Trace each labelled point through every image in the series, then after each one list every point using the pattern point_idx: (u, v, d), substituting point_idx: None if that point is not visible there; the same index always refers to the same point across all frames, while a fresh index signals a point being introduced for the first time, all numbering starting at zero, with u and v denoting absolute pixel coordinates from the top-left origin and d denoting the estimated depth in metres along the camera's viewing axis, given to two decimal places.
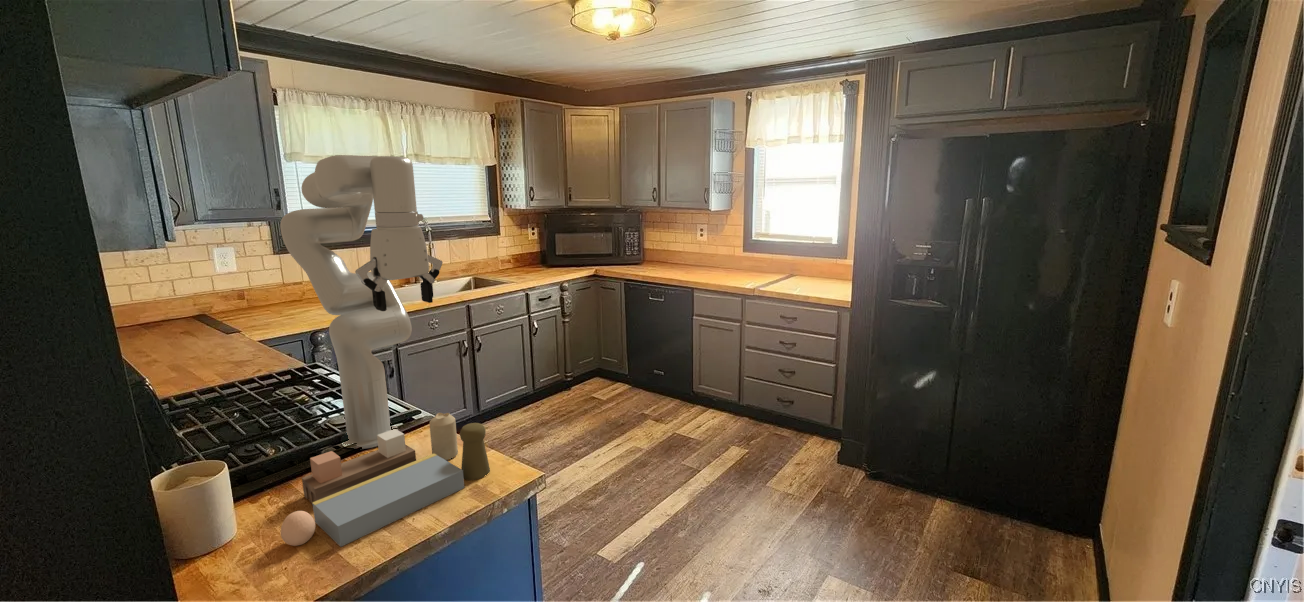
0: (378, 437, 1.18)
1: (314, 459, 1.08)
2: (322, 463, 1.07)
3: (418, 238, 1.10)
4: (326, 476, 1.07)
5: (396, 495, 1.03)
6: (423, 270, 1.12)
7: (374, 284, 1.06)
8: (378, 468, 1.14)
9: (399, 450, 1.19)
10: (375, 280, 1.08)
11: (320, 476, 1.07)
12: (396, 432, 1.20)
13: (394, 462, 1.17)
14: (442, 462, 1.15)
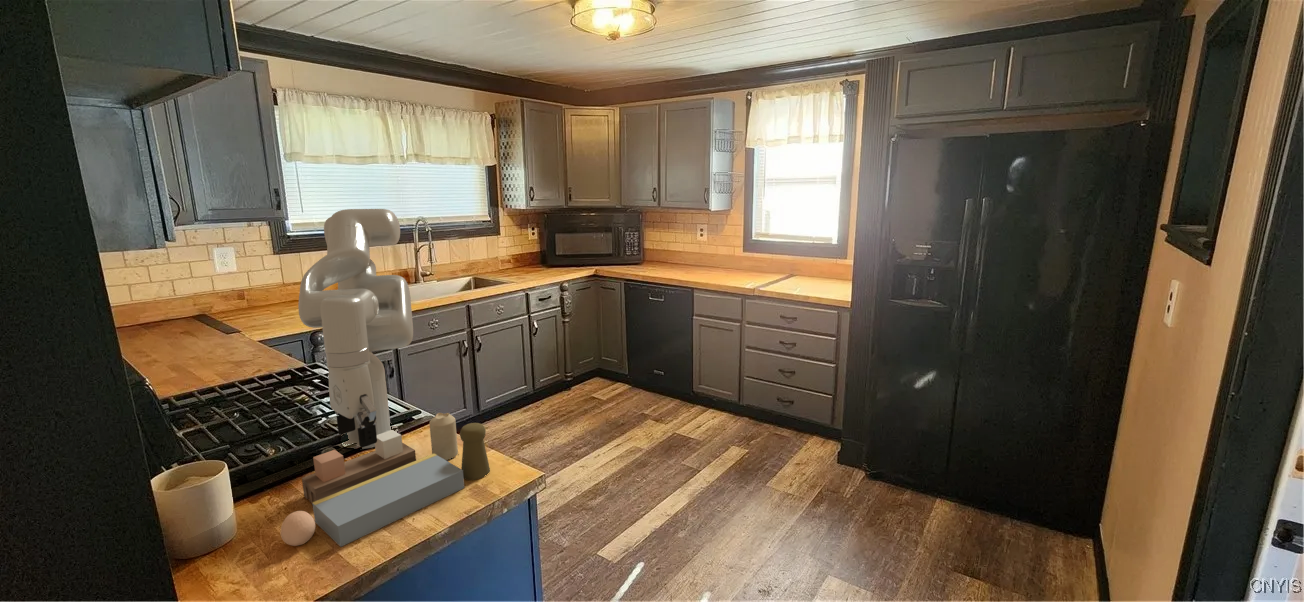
0: None
1: (317, 458, 1.08)
2: (325, 462, 1.07)
3: None
4: (329, 475, 1.08)
5: (396, 495, 1.03)
6: None
7: None
8: (378, 468, 1.14)
9: (396, 451, 1.18)
10: None
11: (323, 475, 1.07)
12: (393, 433, 1.19)
13: (394, 462, 1.17)
14: (442, 462, 1.15)
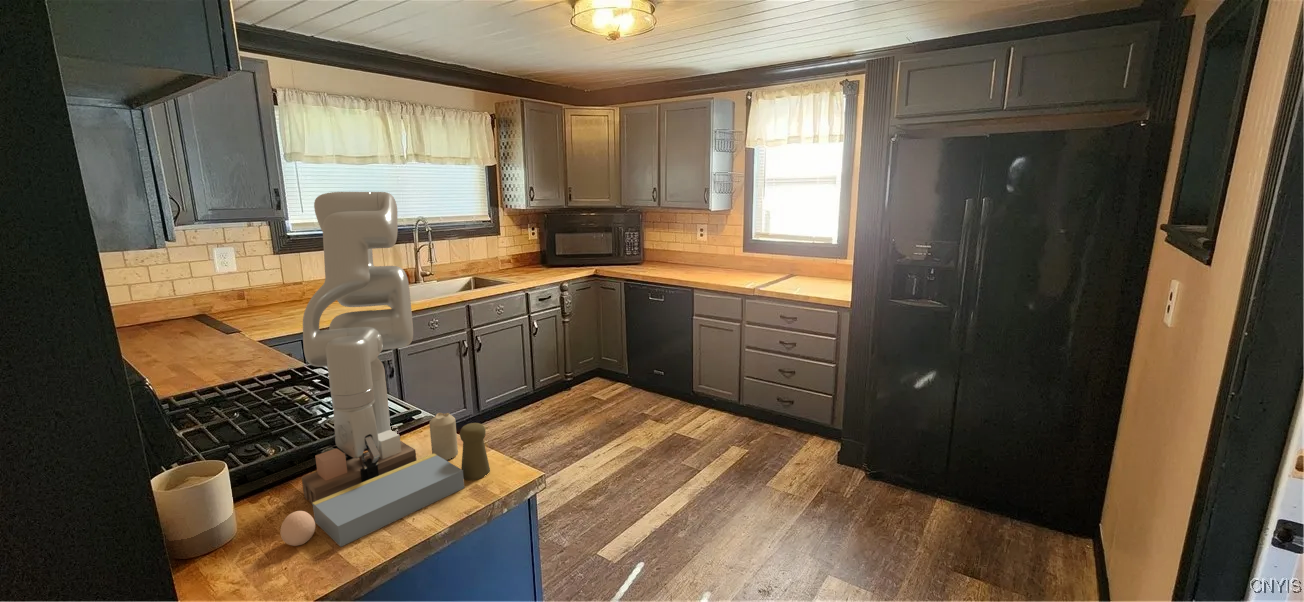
0: None
1: (319, 457, 1.08)
2: (327, 461, 1.07)
3: None
4: (331, 473, 1.08)
5: (396, 495, 1.03)
6: None
7: None
8: (378, 467, 1.14)
9: (394, 451, 1.18)
10: None
11: (325, 473, 1.07)
12: (391, 433, 1.19)
13: (394, 461, 1.16)
14: (442, 462, 1.15)
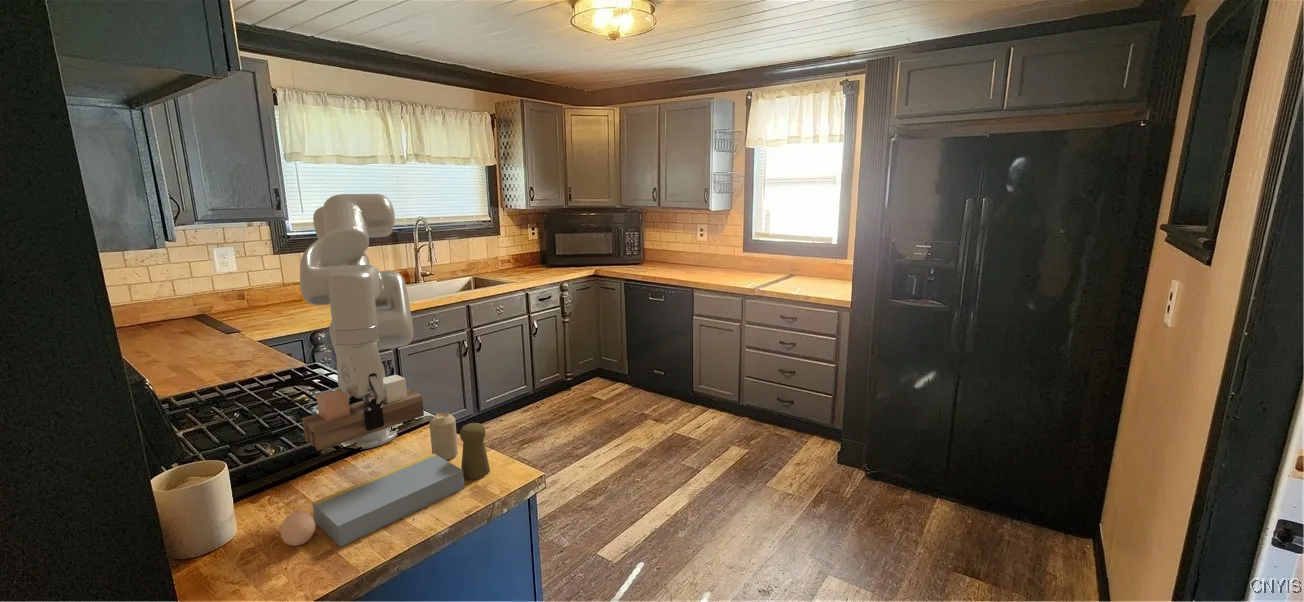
0: None
1: (320, 396, 1.02)
2: (329, 399, 1.01)
3: None
4: (333, 413, 1.02)
5: (396, 495, 1.03)
6: None
7: None
8: (383, 411, 1.08)
9: (400, 396, 1.11)
10: None
11: (327, 413, 1.01)
12: (397, 377, 1.12)
13: (399, 406, 1.10)
14: (442, 462, 1.15)
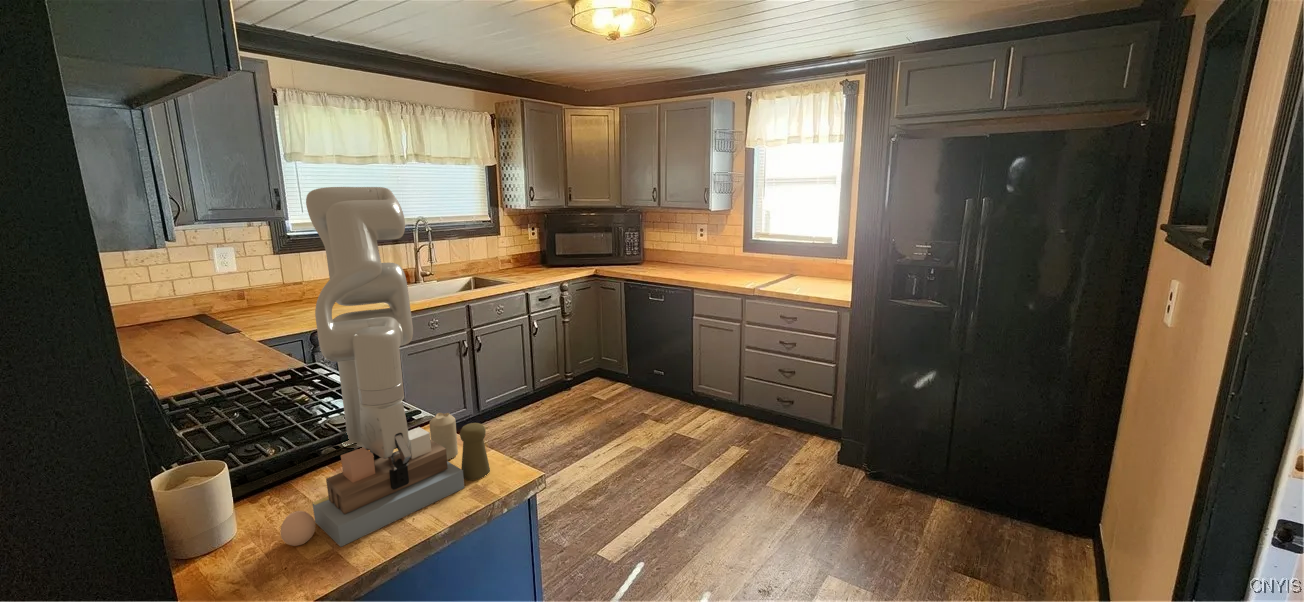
0: None
1: (345, 457, 1.00)
2: (355, 461, 0.99)
3: None
4: (359, 475, 0.99)
5: (396, 495, 1.03)
6: None
7: None
8: (408, 468, 1.05)
9: (424, 450, 1.09)
10: None
11: (352, 475, 0.99)
12: (421, 430, 1.10)
13: (424, 461, 1.08)
14: None
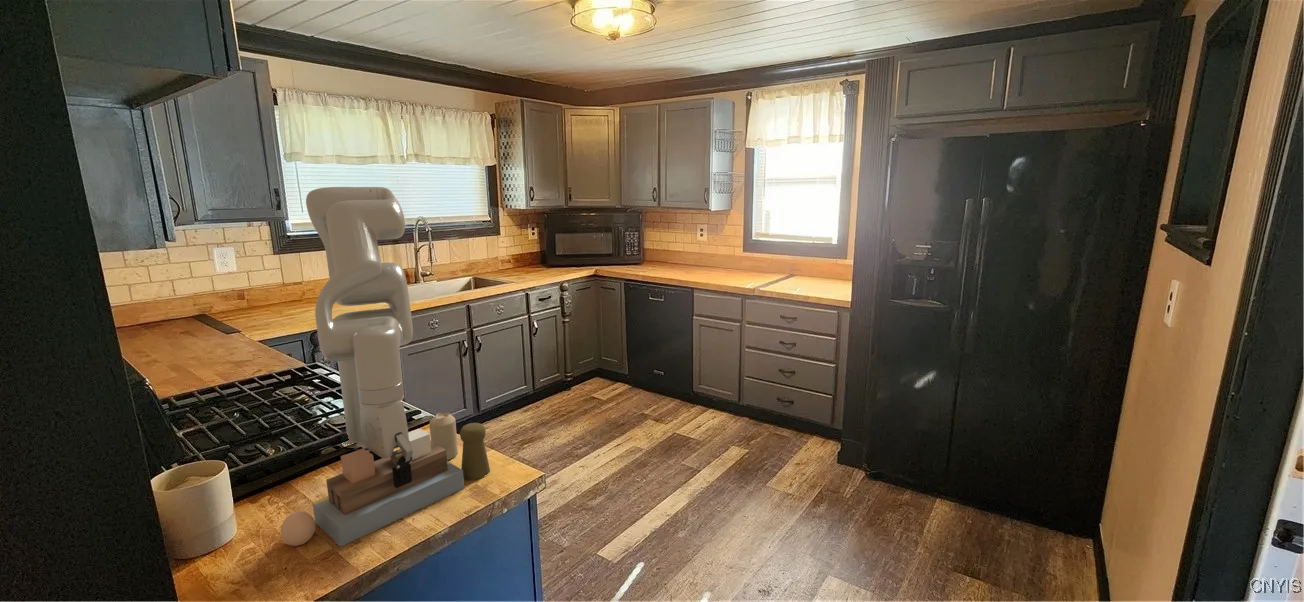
0: None
1: (345, 458, 1.00)
2: (355, 462, 0.99)
3: None
4: (359, 475, 1.00)
5: (396, 495, 1.03)
6: None
7: None
8: None
9: (424, 452, 1.09)
10: None
11: (352, 476, 0.99)
12: (420, 432, 1.10)
13: (424, 462, 1.08)
14: None
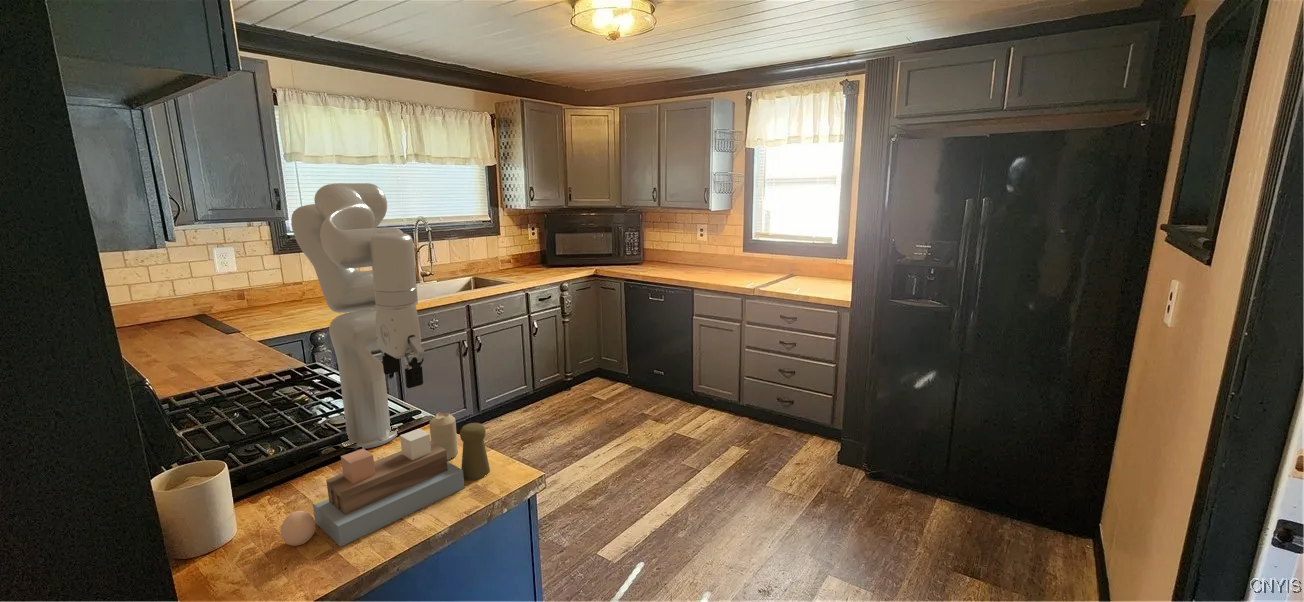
0: (402, 437, 1.08)
1: (345, 458, 1.00)
2: (355, 462, 0.99)
3: None
4: (359, 475, 1.00)
5: (396, 495, 1.03)
6: None
7: None
8: (408, 469, 1.05)
9: (424, 452, 1.09)
10: None
11: (352, 476, 0.99)
12: (420, 432, 1.10)
13: (424, 462, 1.08)
14: None
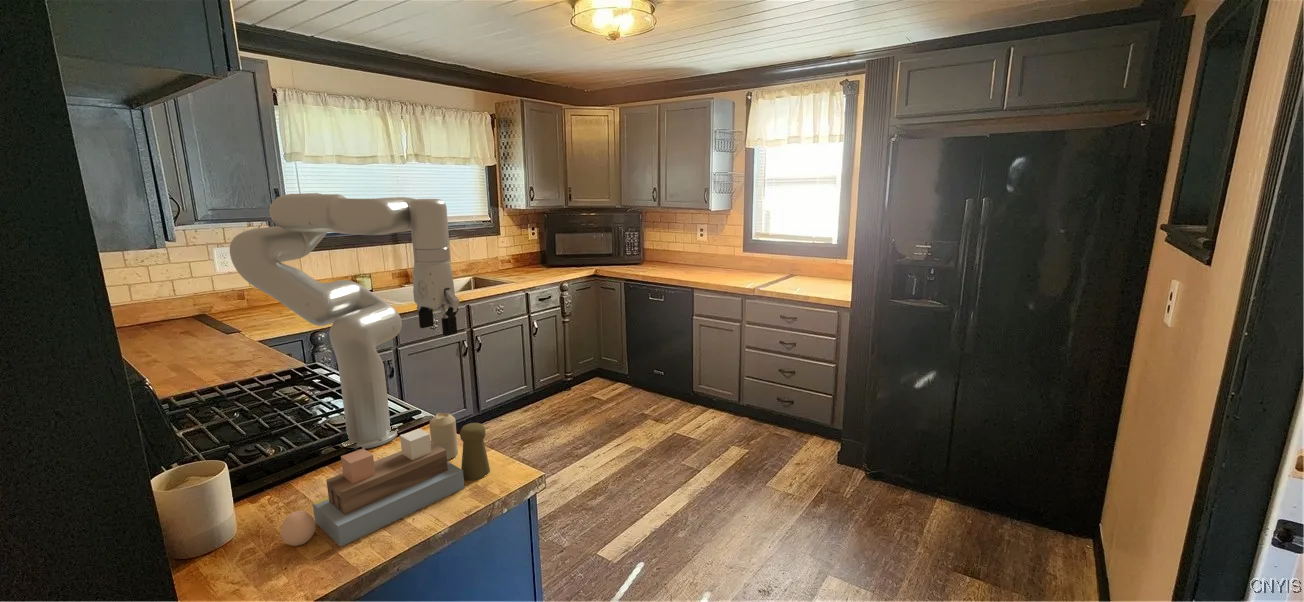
0: (402, 437, 1.08)
1: (345, 458, 1.00)
2: (355, 462, 0.99)
3: None
4: (359, 475, 1.00)
5: (396, 495, 1.03)
6: None
7: None
8: (408, 469, 1.05)
9: (424, 452, 1.09)
10: None
11: (352, 476, 0.99)
12: (420, 432, 1.10)
13: (424, 462, 1.08)
14: None
